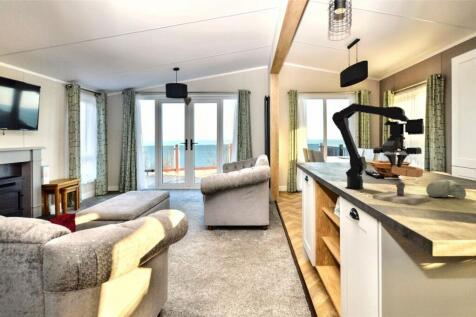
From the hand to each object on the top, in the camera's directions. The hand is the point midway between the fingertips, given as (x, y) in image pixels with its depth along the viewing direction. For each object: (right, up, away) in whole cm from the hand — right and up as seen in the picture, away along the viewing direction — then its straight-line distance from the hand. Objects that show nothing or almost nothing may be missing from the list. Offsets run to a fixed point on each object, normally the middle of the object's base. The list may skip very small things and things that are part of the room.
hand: (395, 169), depth 126 cm
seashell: (+13, -11, -13) cm, 21 cm away
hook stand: (-6, -11, -14) cm, 19 cm away
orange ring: (+3, -2, -4) cm, 5 cm away
